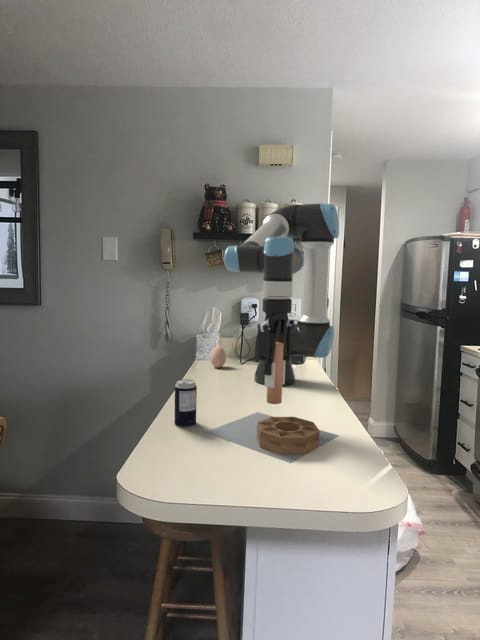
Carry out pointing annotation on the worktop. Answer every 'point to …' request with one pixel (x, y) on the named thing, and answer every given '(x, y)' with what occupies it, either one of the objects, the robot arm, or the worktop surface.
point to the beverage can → (185, 403)
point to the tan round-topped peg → (277, 376)
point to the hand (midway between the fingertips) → (274, 384)
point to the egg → (218, 357)
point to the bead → (287, 435)
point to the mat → (246, 435)
